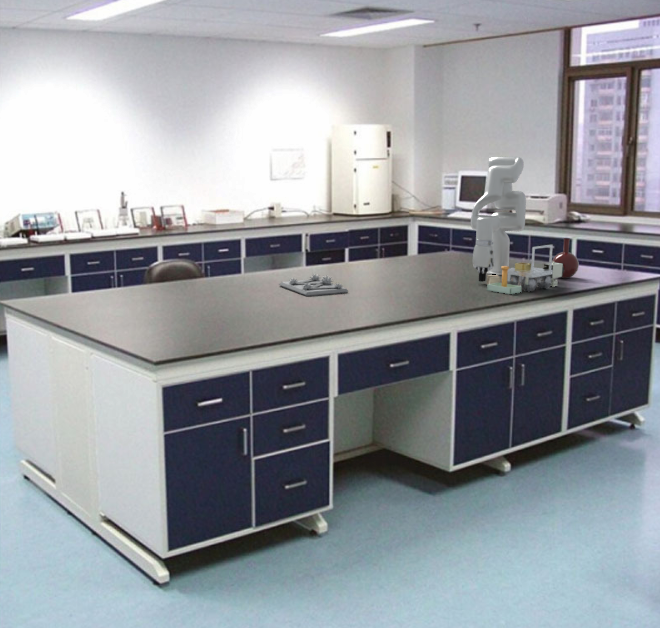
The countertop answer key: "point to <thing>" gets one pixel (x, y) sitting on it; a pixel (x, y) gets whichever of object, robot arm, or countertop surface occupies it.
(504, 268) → the pin
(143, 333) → the countertop surface
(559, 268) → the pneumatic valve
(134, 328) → the countertop surface
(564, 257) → the round-bottom flask
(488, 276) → the block
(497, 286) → the tray
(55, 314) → the countertop surface
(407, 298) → the countertop surface
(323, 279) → the decorative plate
